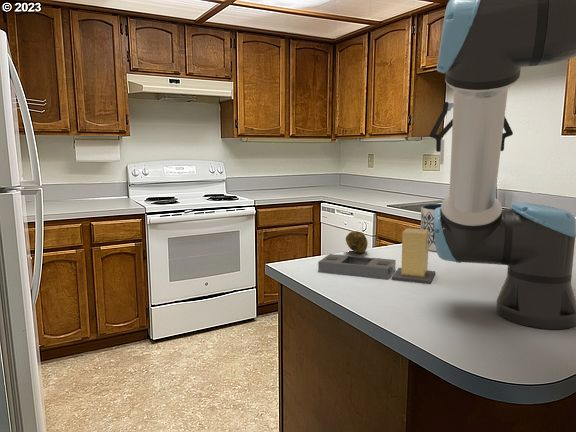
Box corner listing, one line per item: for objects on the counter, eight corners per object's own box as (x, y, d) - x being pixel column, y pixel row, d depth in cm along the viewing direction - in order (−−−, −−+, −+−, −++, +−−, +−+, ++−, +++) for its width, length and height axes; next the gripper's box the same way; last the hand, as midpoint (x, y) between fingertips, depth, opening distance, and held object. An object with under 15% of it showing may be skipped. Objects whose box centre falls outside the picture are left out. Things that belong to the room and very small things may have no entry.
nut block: (424, 278, 119) (425, 233, 117) (401, 275, 121) (402, 232, 120) (427, 272, 124) (428, 229, 122) (405, 270, 127) (406, 228, 125)
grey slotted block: (395, 269, 130) (395, 259, 130) (387, 279, 121) (388, 268, 121) (329, 263, 138) (329, 253, 138) (318, 271, 129) (318, 261, 129)
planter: (446, 241, 167) (448, 203, 164) (478, 250, 152) (480, 208, 150) (410, 245, 161) (411, 205, 159) (440, 255, 146) (441, 211, 144)
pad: (430, 284, 117) (430, 281, 116) (391, 279, 121) (391, 276, 121) (435, 273, 125) (435, 271, 125) (398, 270, 130) (398, 267, 130)
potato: (373, 250, 155) (374, 227, 154) (363, 258, 144) (364, 234, 142) (350, 248, 159) (350, 225, 157) (339, 256, 147) (339, 232, 146)
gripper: (524, 80, 116) (518, 163, 119) (423, 86, 125) (421, 163, 128) (528, 76, 109) (522, 164, 112) (421, 83, 118) (418, 164, 121)
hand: (468, 164), depth 120 cm, fingers open, 13 cm apart
